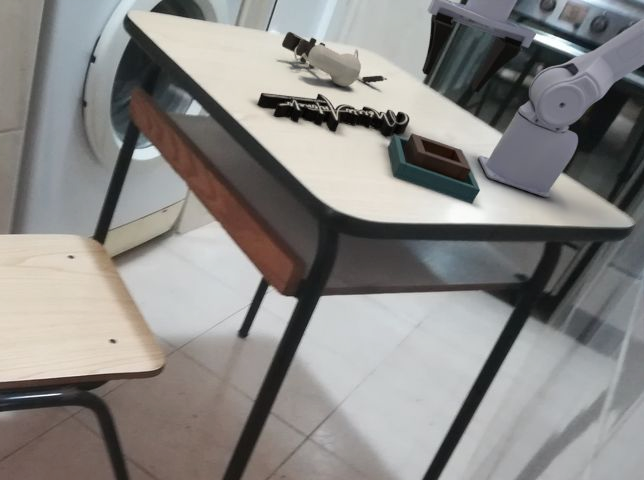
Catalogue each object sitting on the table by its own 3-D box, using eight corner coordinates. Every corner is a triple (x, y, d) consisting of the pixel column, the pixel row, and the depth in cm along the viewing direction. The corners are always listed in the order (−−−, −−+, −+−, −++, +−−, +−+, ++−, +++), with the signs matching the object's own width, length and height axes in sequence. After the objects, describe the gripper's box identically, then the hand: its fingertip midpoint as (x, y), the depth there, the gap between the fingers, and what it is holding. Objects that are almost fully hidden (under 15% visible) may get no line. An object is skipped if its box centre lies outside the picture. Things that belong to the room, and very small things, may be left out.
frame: (450, 169, 95) (461, 149, 93) (459, 189, 90) (471, 169, 88) (401, 152, 95) (411, 132, 93) (407, 172, 89) (418, 151, 87)
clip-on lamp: (342, 85, 126) (273, 51, 115) (360, 51, 123) (291, 13, 112) (382, 107, 118) (312, 73, 107) (402, 71, 115) (332, 33, 104)
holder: (459, 172, 97) (466, 159, 96) (472, 203, 89) (480, 190, 87) (387, 147, 96) (394, 134, 95) (393, 176, 88) (400, 162, 87)
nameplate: (389, 102, 109) (429, 130, 103) (385, 111, 110) (424, 140, 104) (252, 85, 96) (287, 117, 90) (248, 96, 97) (283, 128, 91)
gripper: (546, -8, 91) (491, 89, 100) (447, -44, 91) (400, 57, 99) (561, 2, 86) (501, 104, 94) (455, -36, 85) (404, 70, 94)
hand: (450, 81), depth 96 cm, fingers open, 7 cm apart
